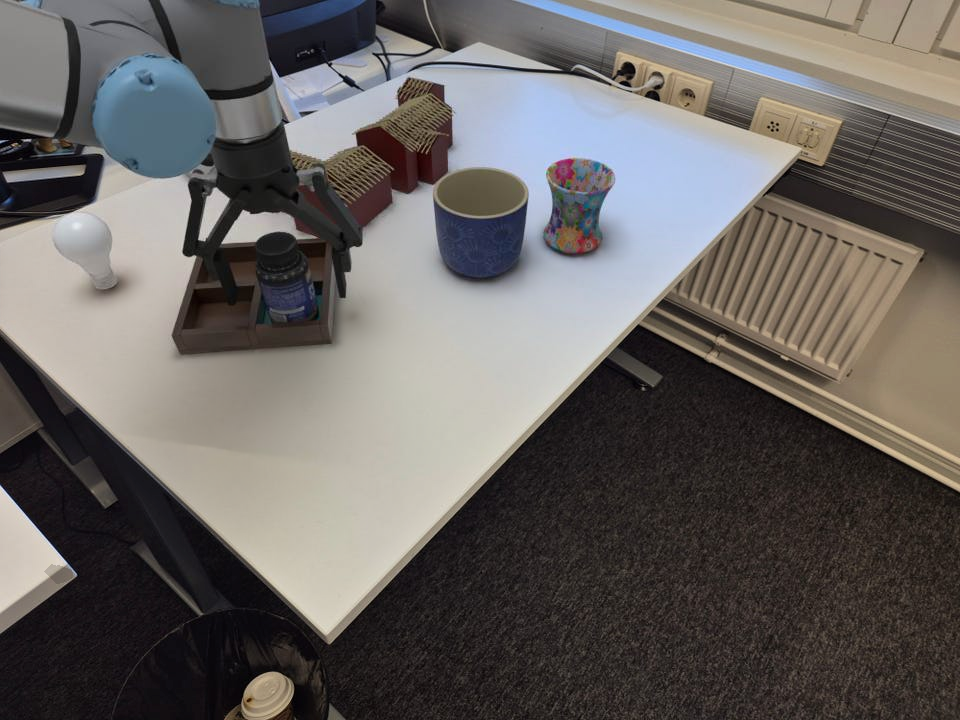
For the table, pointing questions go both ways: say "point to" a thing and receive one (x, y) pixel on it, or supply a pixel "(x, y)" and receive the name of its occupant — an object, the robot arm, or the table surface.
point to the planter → (480, 220)
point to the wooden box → (251, 305)
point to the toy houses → (388, 154)
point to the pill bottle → (285, 279)
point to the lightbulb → (86, 245)
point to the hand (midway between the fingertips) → (288, 294)
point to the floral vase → (577, 203)
